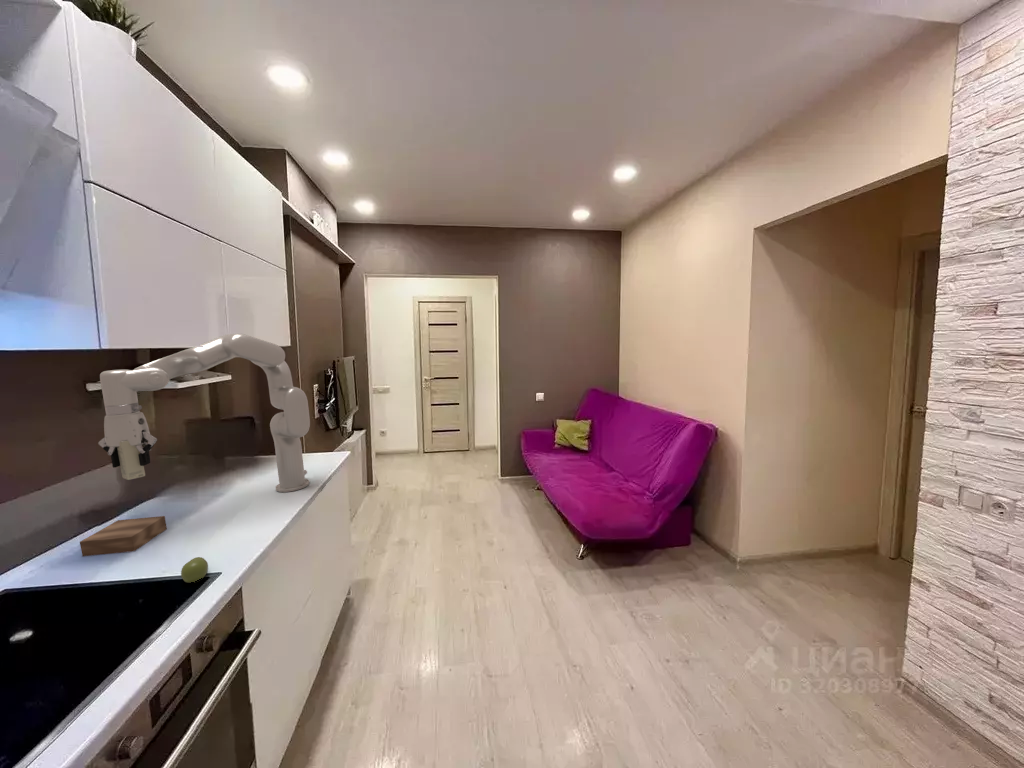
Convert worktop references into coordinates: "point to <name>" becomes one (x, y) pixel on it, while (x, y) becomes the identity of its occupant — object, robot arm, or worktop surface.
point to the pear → (194, 569)
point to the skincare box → (129, 461)
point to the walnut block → (123, 536)
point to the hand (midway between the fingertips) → (131, 465)
